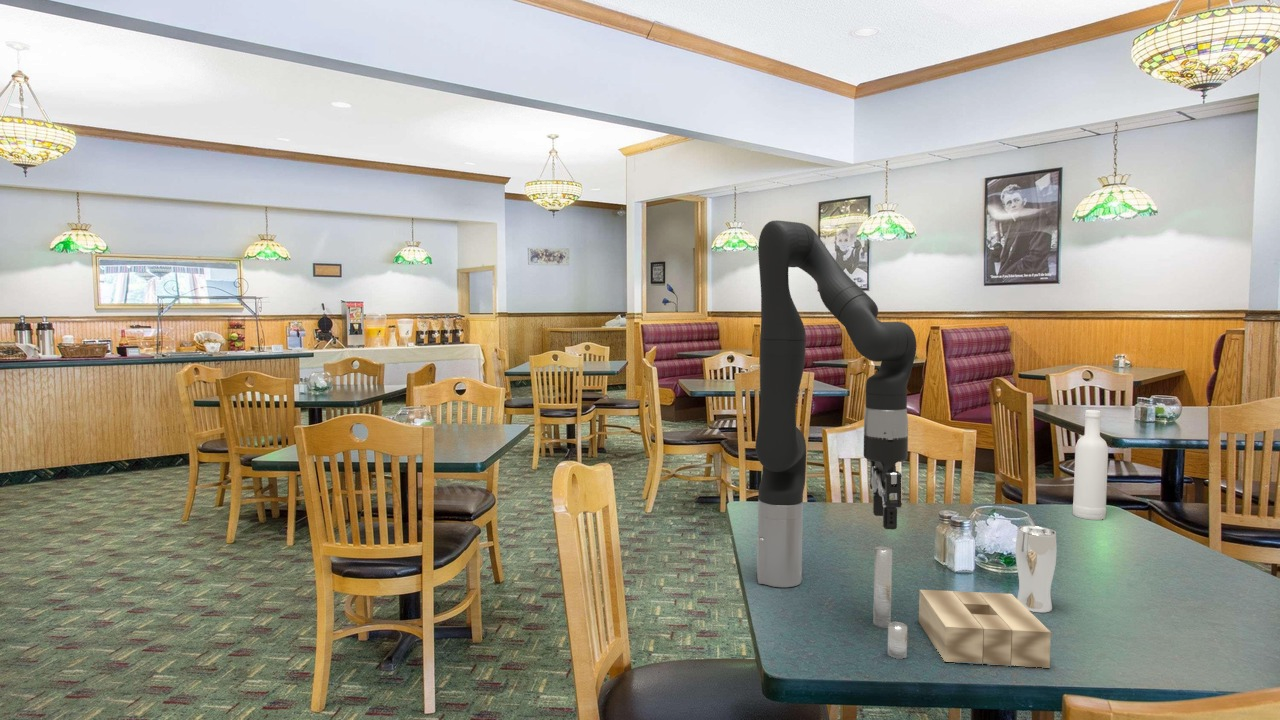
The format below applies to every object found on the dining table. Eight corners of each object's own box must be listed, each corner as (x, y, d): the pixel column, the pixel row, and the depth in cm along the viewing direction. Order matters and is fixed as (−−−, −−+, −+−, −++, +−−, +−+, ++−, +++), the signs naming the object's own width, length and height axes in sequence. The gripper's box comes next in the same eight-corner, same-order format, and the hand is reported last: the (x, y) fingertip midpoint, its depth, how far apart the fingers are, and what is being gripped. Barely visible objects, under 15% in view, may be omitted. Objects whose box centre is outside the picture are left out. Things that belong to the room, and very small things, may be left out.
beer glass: (1006, 600, 143) (1008, 525, 142) (1039, 598, 144) (1042, 524, 143) (1028, 614, 136) (1030, 536, 135) (1063, 613, 137) (1066, 535, 136)
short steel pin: (889, 658, 118) (890, 628, 118) (885, 650, 121) (886, 621, 121) (908, 659, 118) (909, 629, 118) (904, 651, 121) (904, 622, 121)
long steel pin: (874, 627, 130) (876, 551, 129) (871, 620, 133) (873, 545, 132) (892, 628, 130) (893, 551, 129) (888, 621, 133) (890, 546, 132)
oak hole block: (944, 662, 117) (945, 626, 117) (918, 621, 133) (919, 589, 132) (1049, 668, 115) (1050, 632, 115) (1010, 626, 131) (1011, 593, 130)
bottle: (1079, 519, 200) (1083, 411, 198) (1067, 512, 208) (1071, 408, 206) (1111, 520, 199) (1115, 412, 197) (1097, 513, 206) (1102, 408, 204)
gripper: (856, 426, 137) (856, 511, 138) (872, 439, 123) (871, 533, 124) (897, 427, 136) (896, 512, 137) (917, 439, 122) (916, 534, 123)
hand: (884, 521), depth 131 cm, fingers open, 8 cm apart
